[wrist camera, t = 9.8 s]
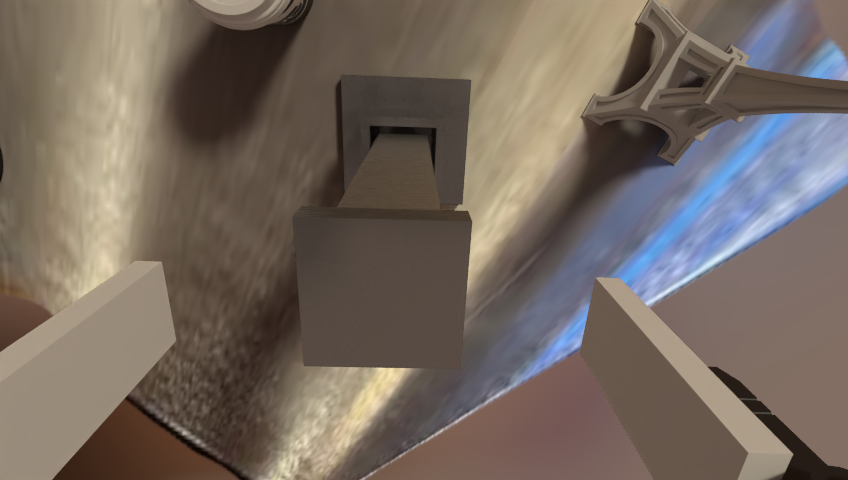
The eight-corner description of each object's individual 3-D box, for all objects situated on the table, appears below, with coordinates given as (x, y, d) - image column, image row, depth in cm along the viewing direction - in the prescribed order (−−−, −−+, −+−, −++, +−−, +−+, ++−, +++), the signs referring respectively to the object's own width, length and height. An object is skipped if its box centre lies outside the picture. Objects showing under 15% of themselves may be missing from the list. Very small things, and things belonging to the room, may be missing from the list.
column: (371, 188, 42) (303, 366, 17) (370, 124, 40) (292, 216, 15) (433, 190, 42) (460, 368, 17) (436, 126, 40) (472, 221, 15)
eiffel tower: (649, -3, 46) (1011, -117, 18) (747, 56, 48) (1202, 35, 20) (581, 115, 50) (789, 169, 22) (674, 164, 53) (968, 269, 25)
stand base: (346, 197, 53) (327, 232, 42) (343, 74, 48) (320, 76, 37) (461, 201, 54) (473, 236, 42) (469, 79, 49) (486, 82, 37)
